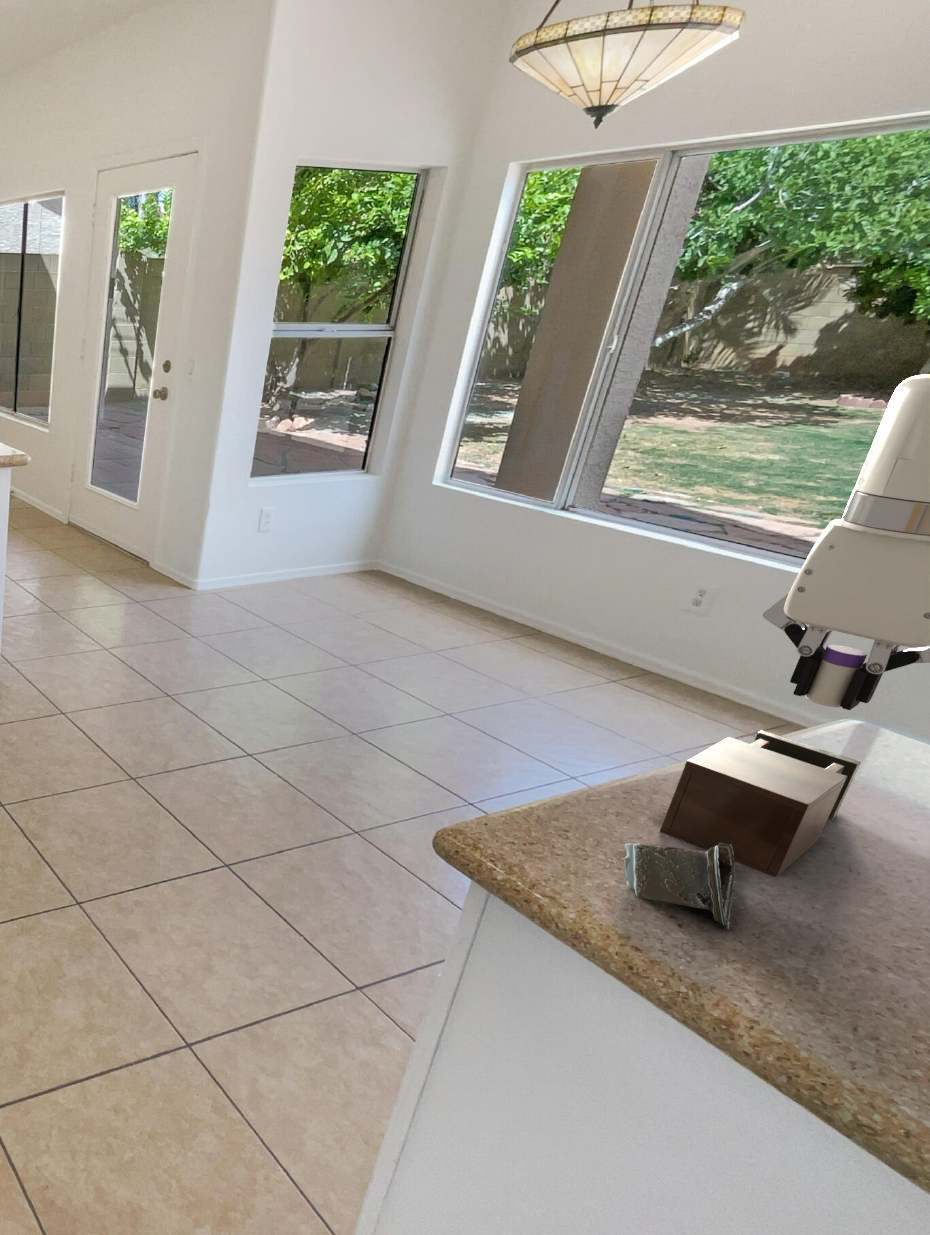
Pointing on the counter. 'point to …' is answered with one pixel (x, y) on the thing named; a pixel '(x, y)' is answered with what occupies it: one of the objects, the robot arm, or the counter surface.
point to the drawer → (811, 759)
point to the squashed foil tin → (683, 876)
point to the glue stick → (835, 674)
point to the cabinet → (752, 804)
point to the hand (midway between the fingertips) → (826, 697)
